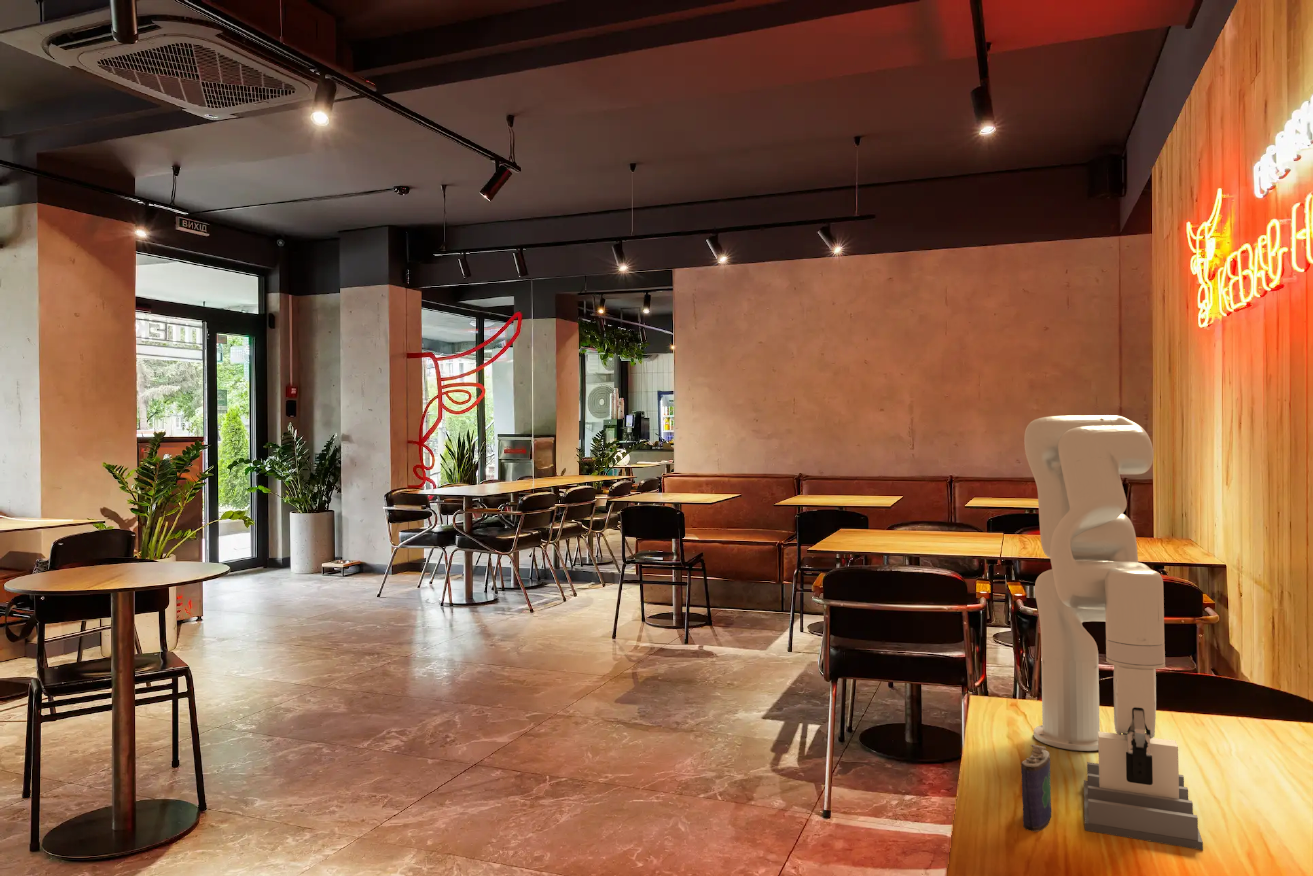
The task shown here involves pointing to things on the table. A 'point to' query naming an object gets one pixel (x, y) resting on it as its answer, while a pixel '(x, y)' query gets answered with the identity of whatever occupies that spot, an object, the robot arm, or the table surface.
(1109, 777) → the beige square block
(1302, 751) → the table surface
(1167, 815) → the rack
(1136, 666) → the robot arm
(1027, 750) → the table surface
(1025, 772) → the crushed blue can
